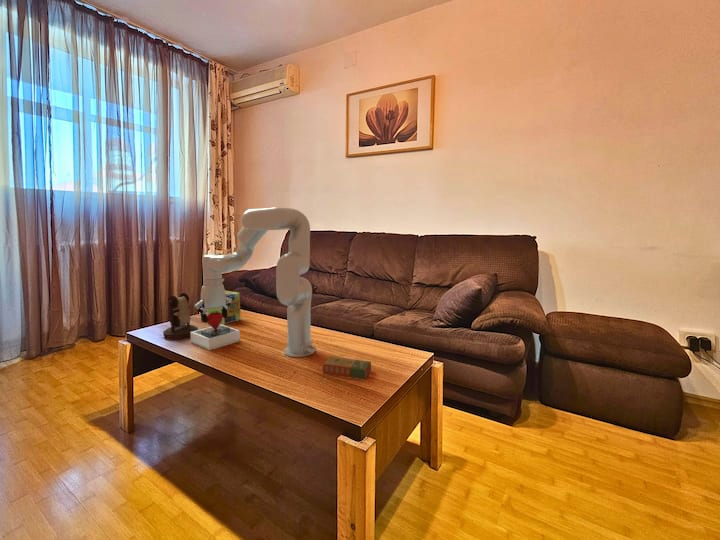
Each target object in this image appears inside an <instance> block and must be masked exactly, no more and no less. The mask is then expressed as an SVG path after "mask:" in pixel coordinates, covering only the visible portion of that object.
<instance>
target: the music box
mask: <svg viewBox="0 0 720 540" xmlns="http://www.w3.org/2000/svg"><path fill="white" fill-rule="evenodd" d="M189 302H190V296H189V295H188V294H187V293H185V292H182V293H181V294H179V296H178V297H177V296H175V295H171V296H169V298H168V299H167V303H168V305H169V311H168V314H169V316H170V317H169V324H170V327H168V328H166V329H165V330H164V331H163V337H164V336H166V337H165V338H180V340H183V338H184V337H187V336H191V333H190V332H193V331H197V330H199V328H198V326H196V325H193V324H191V318H192V317H191V314H190V308H191V306H190V305H189V304H190V303H189ZM175 313H179V316H178V315H177V314H175Z"/></svg>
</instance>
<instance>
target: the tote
mask: <svg viewBox="0 0 720 540" xmlns="http://www.w3.org/2000/svg"><path fill="white" fill-rule="evenodd" d="M220 325H221V326H226V327H230V326H227V325H226V324H225V325H224V324H221V323H220ZM220 325H219V326H220ZM209 328H213V327H211V326H208V327H206V328H202V329H198V330H197V331H193V332H190V333H191V335H190V344H193V345H195V346H197V345H198V347H200V348H202V349H204V348H205V350H206V351H212V349H213V350H215V349H220V348H222V347H225V346H228V345H231V344H234V343H239V342H241V335H240V334H241V330H239V329H237V328H233V327H230V333H227V334H223V335H219V336H216V337H212V338H207V337H205V336H202V335H201V331H203V330H206V329H209Z"/></svg>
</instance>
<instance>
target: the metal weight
mask: <svg viewBox="0 0 720 540" xmlns="http://www.w3.org/2000/svg"><path fill="white" fill-rule="evenodd" d="M226 326H227V325H225V326H221V324H220V326H218V328H217V329H214V328H209V327H208V328H209V329H206V330H203V331H201V335H202V336H205V337H207V338H212V337H216V336H219V335H223V334H227V333H230V326H228V327H226Z"/></svg>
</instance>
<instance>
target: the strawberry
mask: <svg viewBox="0 0 720 540" xmlns="http://www.w3.org/2000/svg"><path fill="white" fill-rule="evenodd" d="M222 318H223V315H222V314H221V313H220V312H219V311H212V312H210V314H208V315H207V324H208V325H209V327H213V328H214V329H217V328H218V326H219V325H221V321H222Z"/></svg>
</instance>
